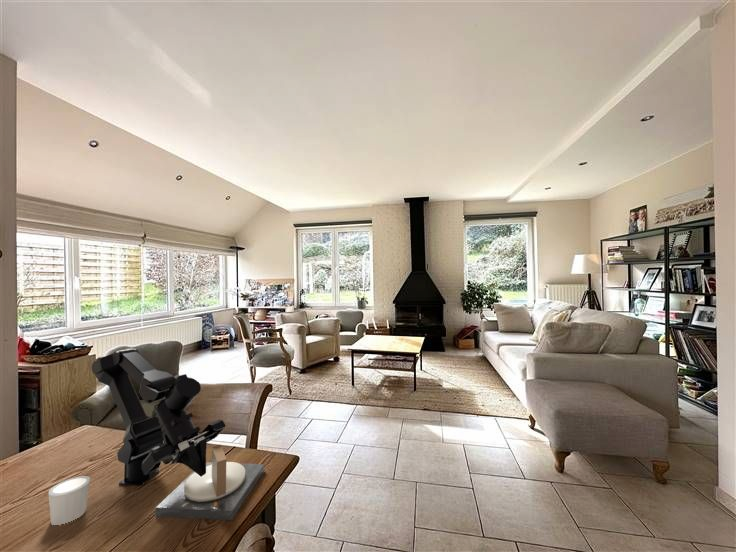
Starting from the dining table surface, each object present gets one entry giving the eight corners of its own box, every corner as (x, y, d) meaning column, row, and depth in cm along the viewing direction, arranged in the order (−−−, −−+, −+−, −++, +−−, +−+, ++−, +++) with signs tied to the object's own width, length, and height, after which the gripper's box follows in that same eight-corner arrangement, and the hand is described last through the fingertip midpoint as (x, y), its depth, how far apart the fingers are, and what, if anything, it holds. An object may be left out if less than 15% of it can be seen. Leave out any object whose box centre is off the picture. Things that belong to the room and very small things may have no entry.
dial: (182, 477, 79) (183, 442, 79) (238, 460, 87) (239, 428, 87) (186, 513, 66) (187, 470, 67) (251, 489, 74) (252, 451, 75)
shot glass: (62, 530, 64) (63, 497, 65) (38, 525, 66) (39, 492, 66) (96, 507, 71) (98, 477, 71) (74, 503, 72) (75, 473, 73)
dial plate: (155, 516, 68) (155, 507, 68) (203, 469, 86) (203, 461, 86) (231, 520, 67) (231, 510, 67) (263, 471, 85) (264, 463, 85)
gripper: (193, 422, 87) (219, 471, 82) (118, 455, 70) (146, 519, 65) (213, 400, 84) (241, 448, 80) (141, 428, 67) (171, 492, 62)
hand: (203, 474), depth 72 cm, fingers closed
